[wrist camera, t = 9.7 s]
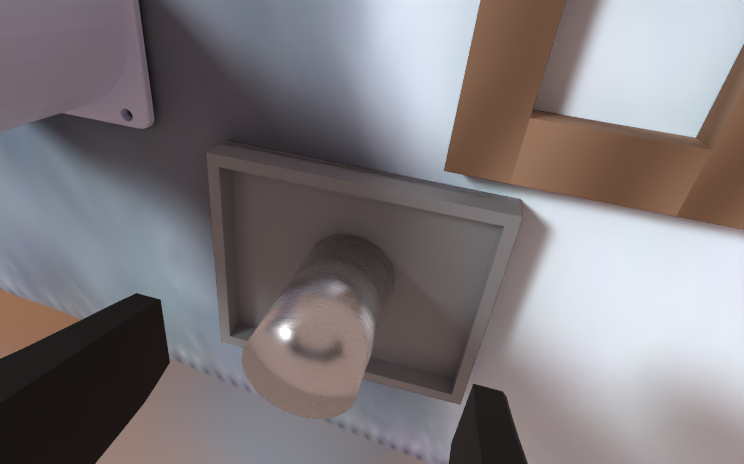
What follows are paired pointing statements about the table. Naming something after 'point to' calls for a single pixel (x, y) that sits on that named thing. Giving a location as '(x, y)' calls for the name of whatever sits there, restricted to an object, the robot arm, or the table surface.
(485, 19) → the socket block
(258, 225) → the tray
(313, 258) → the steel pin
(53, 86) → the robot arm
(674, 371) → the table surface
